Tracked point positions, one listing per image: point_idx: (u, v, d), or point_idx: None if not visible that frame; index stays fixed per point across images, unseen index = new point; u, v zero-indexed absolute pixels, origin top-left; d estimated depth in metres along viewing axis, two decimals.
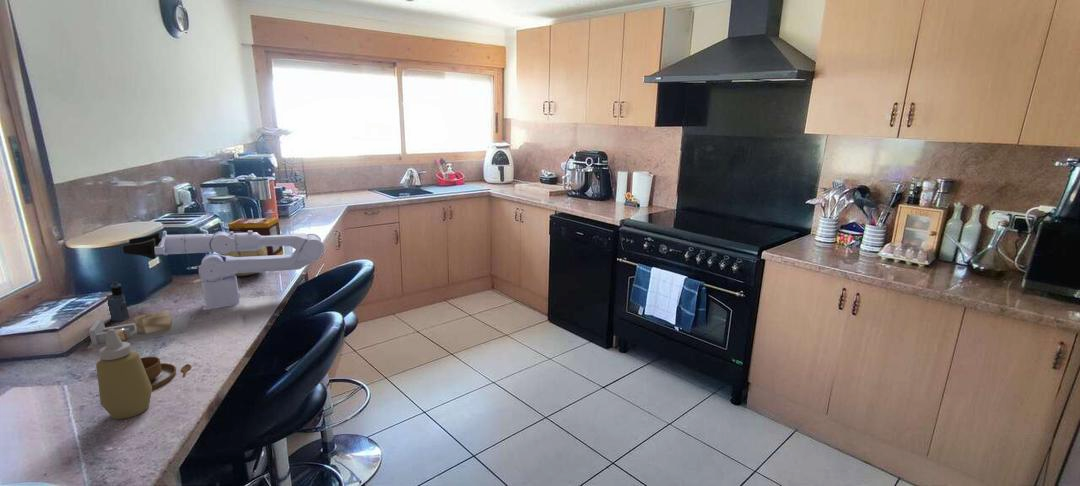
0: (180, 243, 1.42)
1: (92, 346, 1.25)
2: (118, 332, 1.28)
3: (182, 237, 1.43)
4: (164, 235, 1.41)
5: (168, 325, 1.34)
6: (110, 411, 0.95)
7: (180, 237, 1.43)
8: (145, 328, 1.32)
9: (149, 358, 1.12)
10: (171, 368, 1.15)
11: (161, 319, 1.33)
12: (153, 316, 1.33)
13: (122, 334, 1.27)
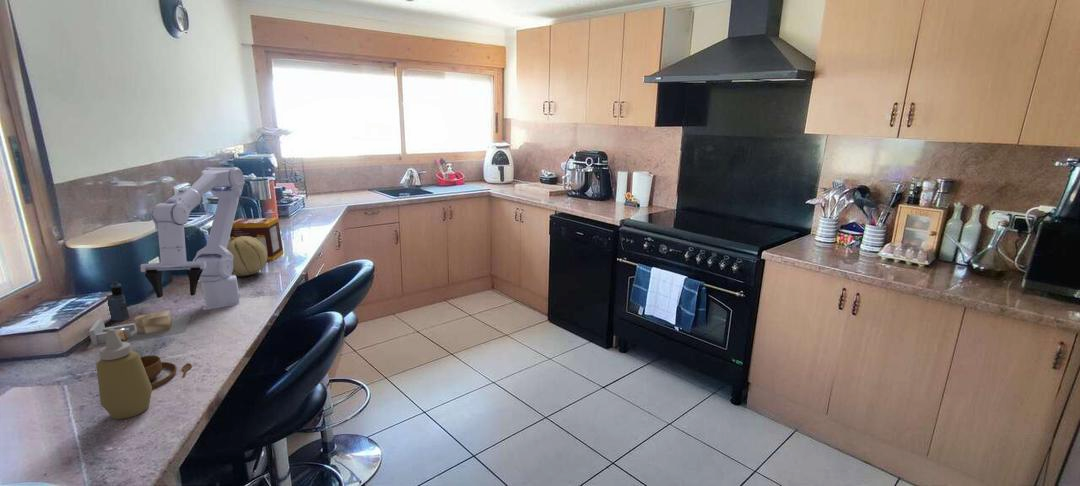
0: (183, 250, 1.34)
1: (92, 346, 1.25)
2: (118, 332, 1.28)
3: (176, 249, 1.32)
4: (175, 265, 1.32)
5: (168, 325, 1.34)
6: (110, 411, 0.95)
7: (176, 251, 1.32)
8: (145, 328, 1.32)
9: (150, 357, 1.13)
10: (172, 367, 1.15)
11: (161, 319, 1.33)
12: (153, 316, 1.33)
13: (122, 334, 1.27)
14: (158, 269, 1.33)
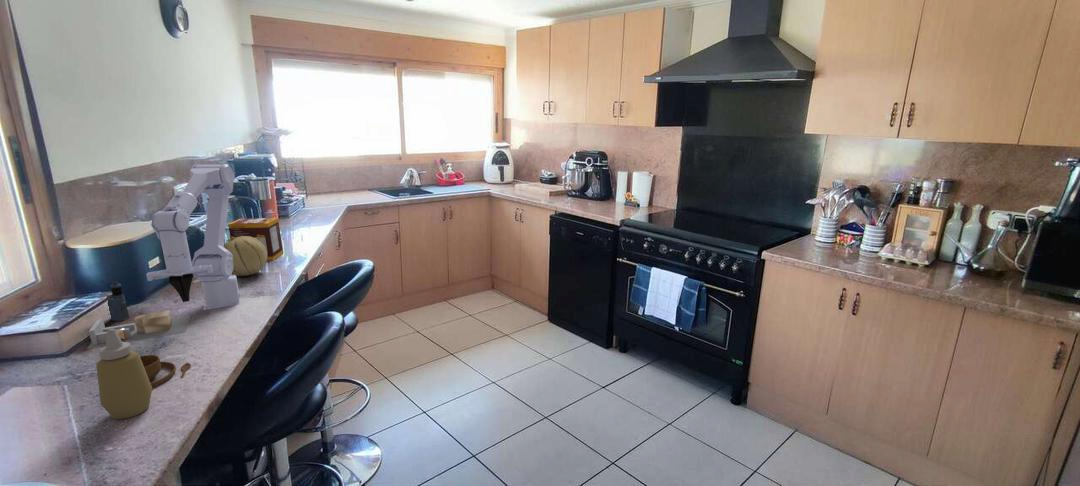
0: (189, 256, 1.34)
1: (92, 346, 1.25)
2: (118, 332, 1.28)
3: (183, 256, 1.32)
4: (183, 272, 1.32)
5: (168, 325, 1.34)
6: (110, 411, 0.95)
7: (183, 258, 1.32)
8: (145, 328, 1.32)
9: (149, 356, 1.13)
10: (171, 366, 1.15)
11: (161, 319, 1.33)
12: (153, 316, 1.33)
13: (122, 334, 1.27)
14: (164, 276, 1.33)
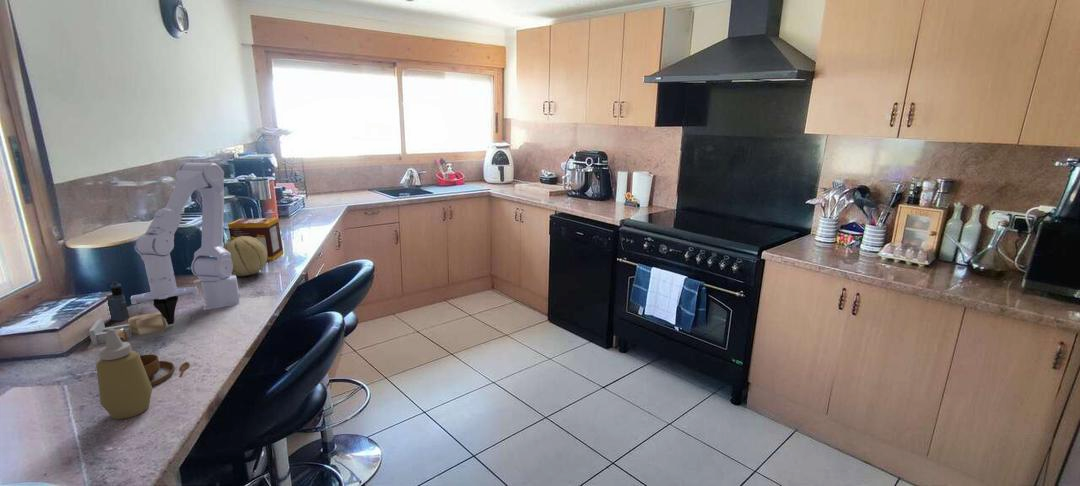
0: (173, 279, 1.33)
1: (92, 346, 1.25)
2: (118, 332, 1.28)
3: (167, 279, 1.31)
4: (168, 295, 1.32)
5: (162, 326, 1.34)
6: (110, 411, 0.95)
7: (167, 281, 1.31)
8: (139, 329, 1.31)
9: (148, 356, 1.13)
10: (170, 366, 1.16)
11: (155, 320, 1.32)
12: (147, 317, 1.32)
13: (122, 334, 1.27)
14: (148, 299, 1.32)
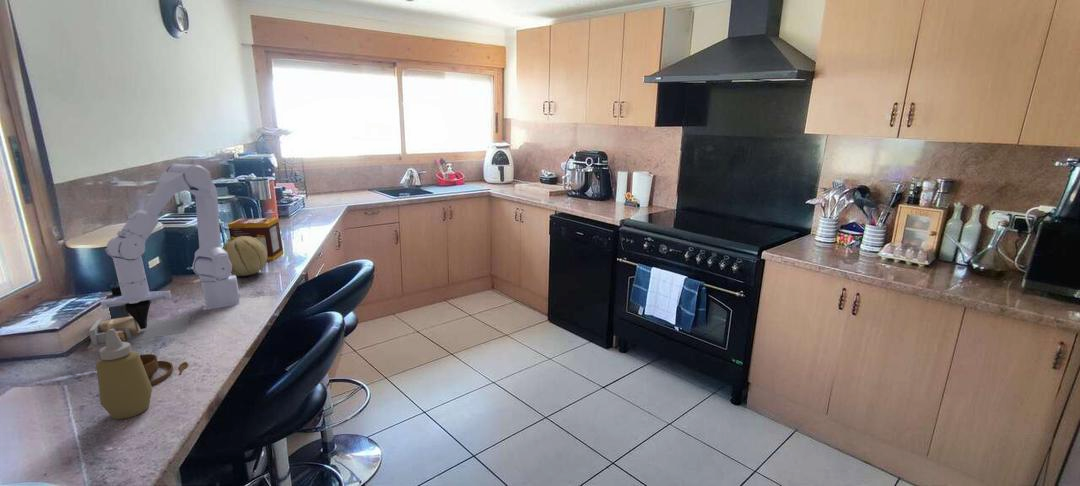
0: (145, 282, 1.30)
1: (92, 346, 1.25)
2: (117, 333, 1.27)
3: (138, 283, 1.29)
4: (139, 299, 1.29)
5: (134, 330, 1.31)
6: (110, 411, 0.95)
7: (138, 285, 1.29)
8: None
9: (147, 355, 1.13)
10: (169, 366, 1.16)
11: (127, 324, 1.30)
12: (119, 321, 1.30)
13: (121, 335, 1.27)
14: (120, 303, 1.29)
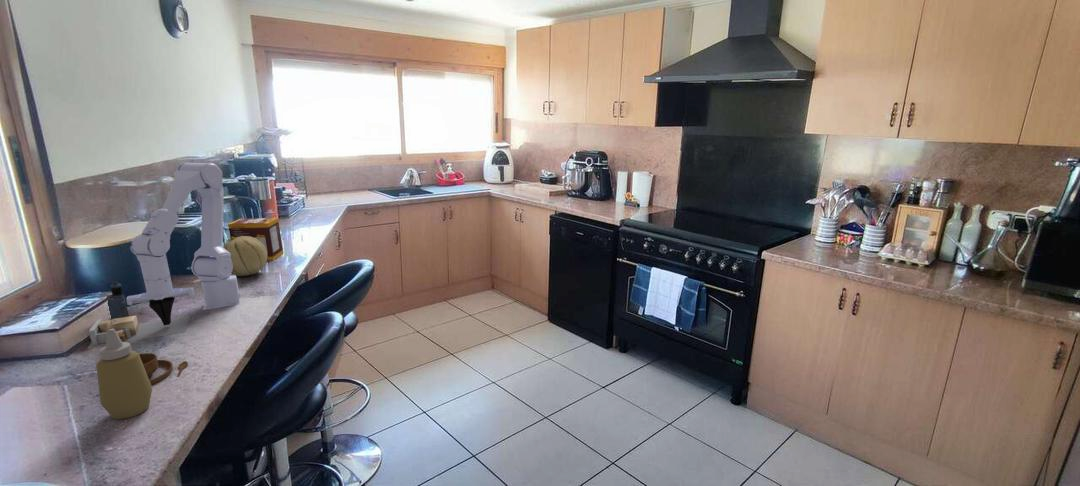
0: (169, 279, 1.33)
1: (92, 346, 1.25)
2: (117, 333, 1.27)
3: (163, 280, 1.31)
4: (164, 296, 1.31)
5: (134, 330, 1.31)
6: (110, 411, 0.95)
7: (163, 282, 1.31)
8: None
9: (147, 354, 1.14)
10: (168, 365, 1.16)
11: (126, 324, 1.30)
12: (118, 321, 1.30)
13: (121, 335, 1.27)
14: (144, 300, 1.32)
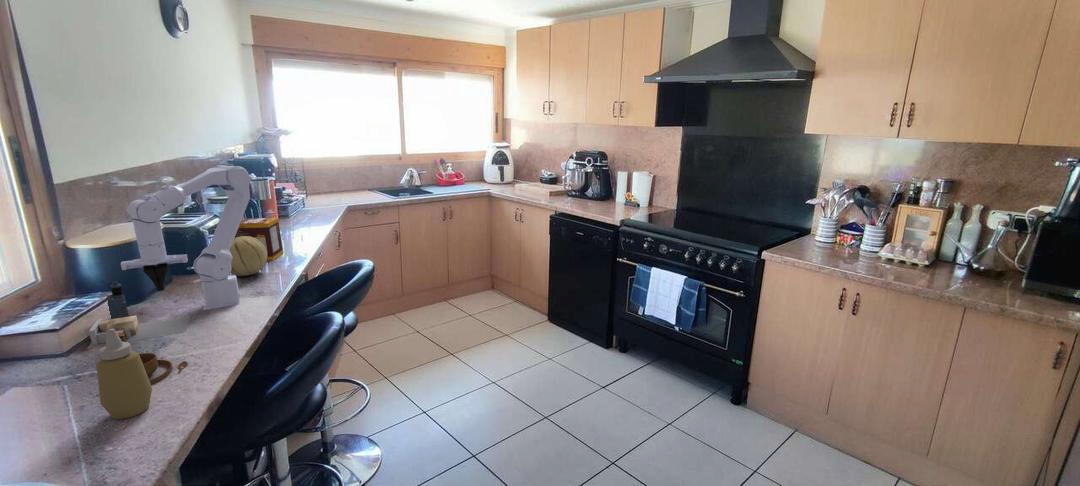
0: (163, 245, 1.35)
1: (92, 346, 1.25)
2: (117, 333, 1.27)
3: (157, 246, 1.33)
4: (158, 261, 1.33)
5: (134, 330, 1.31)
6: (110, 411, 0.95)
7: (157, 247, 1.33)
8: None
9: (147, 354, 1.14)
10: (168, 365, 1.16)
11: (126, 324, 1.30)
12: (118, 321, 1.30)
13: (121, 335, 1.27)
14: (138, 265, 1.34)
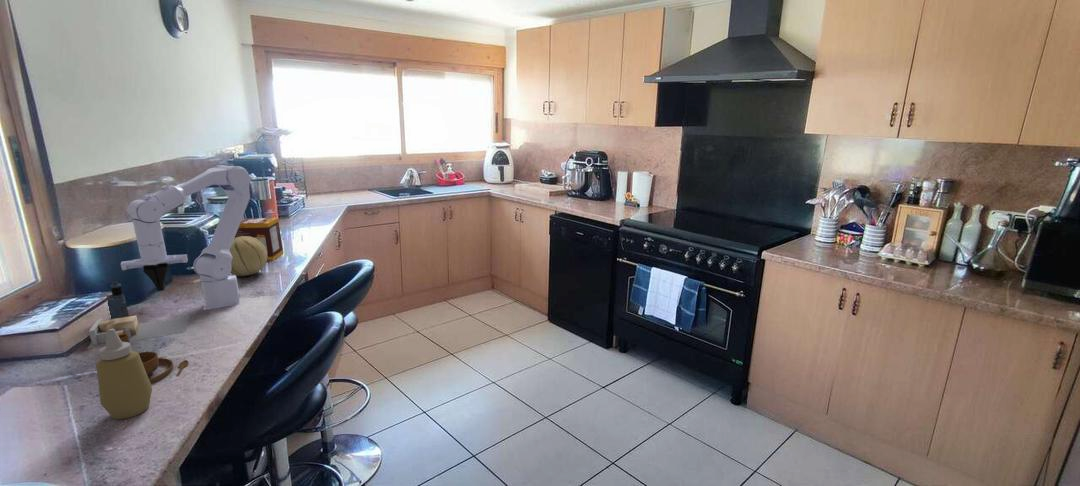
0: (163, 245, 1.35)
1: (92, 346, 1.25)
2: (117, 333, 1.27)
3: (157, 246, 1.33)
4: (158, 261, 1.33)
5: (134, 330, 1.31)
6: (110, 411, 0.95)
7: (157, 247, 1.33)
8: None
9: (148, 353, 1.14)
10: (169, 363, 1.17)
11: (126, 324, 1.30)
12: (118, 321, 1.30)
13: None
14: (138, 265, 1.34)
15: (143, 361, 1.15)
